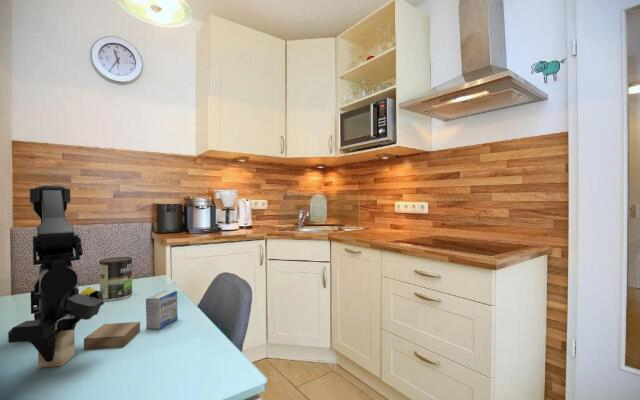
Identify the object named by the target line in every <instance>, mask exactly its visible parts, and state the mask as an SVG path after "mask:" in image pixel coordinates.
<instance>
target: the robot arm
mask: <svg viewBox="0 0 640 400" xmlns="http://www.w3.org/2000/svg"><path fill="white" fill-rule="evenodd" d="M71 202H72V201H71V189H69V188H65V186H62V185H48V184H47V185H46V184H43V185H39V186H37V187H36V186H35V187H33V188H29V205H32V206H33V207H32V210H33V212H34V214H36V215H37V217H38V218H39V219H40V224H39V225H37V227H36V235H33V236H32V262H33V263H32V265H33V266H37V265H38V266H39V267H38V277H37V279H36V280H35V281H34V283H33V290H30V315H33V316H34V317H33V318H34V320H31V319H30V320H26V321H23V322H21V323H19V324H17V325H15V326H13V327H12V328H11V329H10V330H9V331H8V332H7V343H8V344H11V343H12V344H13V343H25V342H29V343H30V344H32V346H33V347H34V348H35V349H36V350H37V353H38V352H39V353H40V354H41V356H42V357H43V358H44V360H45V361H46V362H51V361H52V360H53V357H54V350H55V340H56V336H57V335H58V334H59V333H60V332H61V331H62V330H74V331H75V328H76V327H77V324H79V322H80V321H82V320H84V321H86V320H88V321H89V320H91V319H92V317H94V316H97V315H98V314H99V311H100V309H101V307H102V306H103V305H104V304H105V301H103V300H104V299H103V294H102V292H101V291H100V290H96V289H95V290H96V291H94V292H92V293H91V294H90V295H89V296H88V294H85V295H81V294H80V291H79V290H80V289H79V288H78V287H77V284H78V281H79V280H78V275H77V273H76V271H75V270H74V268H73V263H72V262H73V261H80V260H81V256H83V247H82V246H83V245H82V239H81V237H80V236H79V234H78V233H75V230H74V226H73V224H72V223H71V222H68V221H67V220H66V214H65V212H66V211H67V209H68V204H69V205H70V204H71Z"/></svg>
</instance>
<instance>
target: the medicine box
mask: <svg viewBox="0 0 640 400" xmlns="http://www.w3.org/2000/svg"><path fill="white" fill-rule="evenodd" d="M177 319H178V291H177V290H173V289H172V290H171V289H170V290H169V289H168V290H167V289H166V290H163V291H161V292H159V293H158V292H157V293H156V294H154V295H150V296H149V297H146V298H145V322H146V324H145V325H146V329H150V330H151V329H152V330H153V329H154V330H155V329H156V330H161V329H163V328H164V327H166V326H168V325H169V324H171V323H173V322H175V321H177Z"/></svg>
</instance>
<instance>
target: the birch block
mask: <svg viewBox="0 0 640 400" xmlns="http://www.w3.org/2000/svg"><path fill="white" fill-rule="evenodd" d="M75 337H76V335H75V329H74V330H62V331H61V332H60V333H59V334H58V335H57V336H56V340H55V350H54V357H53V360H52V361H51V362H46V361H45V360H44V358H43V357H42V356H41V354H40V353H39V352H38V351H37V355H38V356H37V357H38V360H37V361H38V363H37V364H38V366H37V367H38V368H39V369H40V368H50V367H51V368H53V367H62V366H63V365H64V364H66V363H67V362H68V361H70V360H71V359H72V358H74V357H75V356H76V351H75V350H76V349H75V348H76V347H75V342H76V341H75Z"/></svg>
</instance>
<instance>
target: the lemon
mask: <svg viewBox="0 0 640 400" xmlns="http://www.w3.org/2000/svg"><path fill="white" fill-rule="evenodd" d="M94 291H96V289H95V288H92V287H87V288H85V289H83V290H82V291H81V292H79V294H81V295H85V294H88V296H89V295H90V294H91V293H92V292H94Z"/></svg>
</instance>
